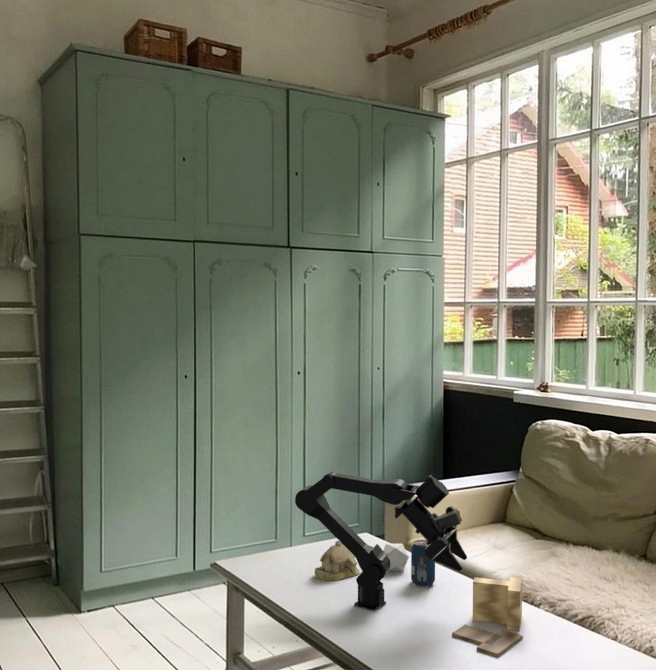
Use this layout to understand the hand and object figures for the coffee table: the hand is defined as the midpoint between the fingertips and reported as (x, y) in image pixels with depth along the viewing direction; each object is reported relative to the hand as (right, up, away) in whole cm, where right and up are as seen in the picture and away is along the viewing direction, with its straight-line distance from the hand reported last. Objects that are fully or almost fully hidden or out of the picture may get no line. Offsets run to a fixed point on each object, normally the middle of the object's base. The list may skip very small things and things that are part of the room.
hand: (463, 564), depth 201 cm
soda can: (-8, -13, +25) cm, 29 cm away
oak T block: (+9, -14, -2) cm, 17 cm away
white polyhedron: (-15, -13, +36) cm, 41 cm away
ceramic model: (-33, -13, +32) cm, 48 cm away
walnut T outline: (+3, -14, -14) cm, 20 cm away
